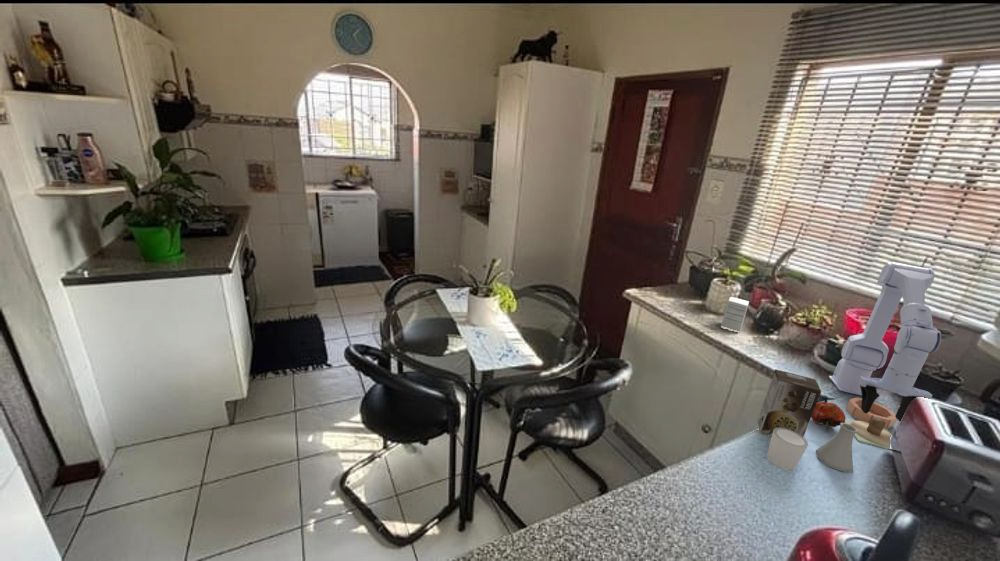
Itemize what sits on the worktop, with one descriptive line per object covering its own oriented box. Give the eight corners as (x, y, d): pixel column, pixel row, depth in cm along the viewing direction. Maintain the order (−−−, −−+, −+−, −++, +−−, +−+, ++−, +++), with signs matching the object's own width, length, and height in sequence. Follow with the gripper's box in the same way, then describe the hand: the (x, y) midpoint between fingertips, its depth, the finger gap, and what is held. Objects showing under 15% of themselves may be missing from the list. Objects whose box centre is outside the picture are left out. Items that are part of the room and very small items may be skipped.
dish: (841, 402, 125) (845, 394, 124) (880, 412, 122) (884, 404, 121) (856, 421, 116) (860, 412, 115) (899, 432, 113) (903, 423, 112)
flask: (859, 476, 95) (876, 440, 92) (825, 468, 96) (840, 433, 93) (841, 454, 102) (856, 421, 99) (809, 448, 103) (823, 414, 100)
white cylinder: (792, 456, 99) (802, 432, 97) (802, 476, 93) (813, 451, 91) (760, 447, 101) (769, 423, 99) (768, 466, 95) (778, 441, 92)
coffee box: (795, 431, 109) (816, 379, 103) (800, 446, 103) (823, 391, 98) (756, 419, 112) (774, 368, 107) (759, 433, 106) (779, 379, 101)
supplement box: (722, 323, 179) (730, 296, 175) (741, 328, 175) (750, 301, 171) (719, 328, 173) (727, 300, 169) (739, 333, 169) (748, 305, 165)
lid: (844, 418, 116) (850, 405, 115) (885, 429, 114) (891, 415, 112) (859, 438, 108) (865, 425, 107) (903, 450, 105) (910, 436, 104)
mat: (841, 418, 117) (841, 417, 117) (885, 429, 114) (886, 428, 114) (857, 441, 108) (858, 439, 107) (906, 454, 105) (907, 452, 104)
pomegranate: (840, 443, 110) (842, 409, 115) (847, 432, 105) (849, 397, 109) (806, 433, 114) (809, 401, 119) (811, 422, 109) (814, 389, 114)
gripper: (876, 370, 103) (855, 415, 107) (948, 386, 99) (924, 432, 103) (863, 358, 109) (844, 401, 114) (930, 372, 105) (908, 416, 110)
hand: (881, 415), depth 109 cm, fingers open, 7 cm apart
